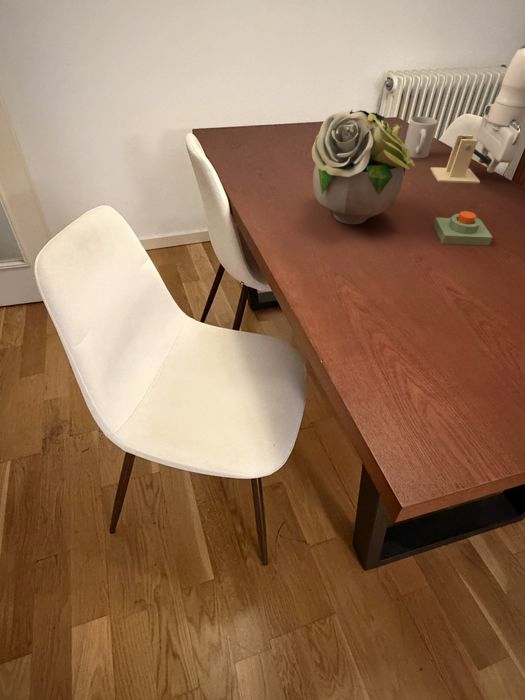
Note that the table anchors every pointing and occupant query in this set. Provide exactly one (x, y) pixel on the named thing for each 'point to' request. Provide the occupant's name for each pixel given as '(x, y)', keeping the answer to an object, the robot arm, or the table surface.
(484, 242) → the control block
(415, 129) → the mug
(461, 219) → the button
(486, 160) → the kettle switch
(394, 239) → the table surface
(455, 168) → the beige bracket stand
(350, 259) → the table surface
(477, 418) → the table surface
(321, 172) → the flower arrangement
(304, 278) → the table surface
